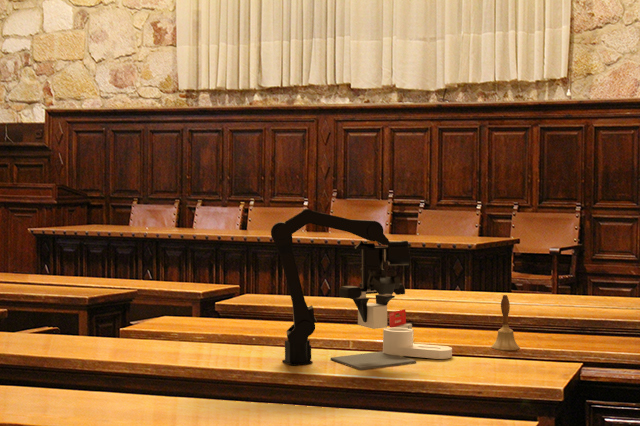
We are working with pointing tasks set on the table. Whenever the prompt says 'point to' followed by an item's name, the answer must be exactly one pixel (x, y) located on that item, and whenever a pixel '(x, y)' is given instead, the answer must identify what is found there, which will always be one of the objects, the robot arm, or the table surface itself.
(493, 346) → the hand bell
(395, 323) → the ink cartridge box
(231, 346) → the table surface
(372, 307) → the card deck box
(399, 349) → the bracket
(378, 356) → the grey rubber mat
